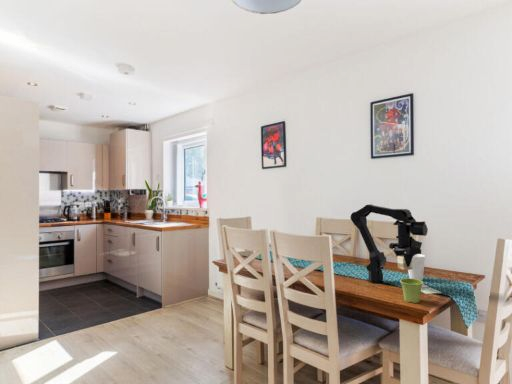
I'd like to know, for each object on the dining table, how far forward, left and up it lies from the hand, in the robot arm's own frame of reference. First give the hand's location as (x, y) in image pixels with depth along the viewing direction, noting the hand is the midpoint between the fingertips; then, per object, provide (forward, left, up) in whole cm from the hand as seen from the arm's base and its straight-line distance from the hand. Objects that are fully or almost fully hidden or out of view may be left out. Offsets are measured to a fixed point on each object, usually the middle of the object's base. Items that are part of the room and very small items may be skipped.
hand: (405, 265), depth 165 cm
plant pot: (-9, -19, -11) cm, 24 cm away
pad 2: (+7, -8, -11) cm, 15 cm away
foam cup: (+14, +12, -11) cm, 22 cm away
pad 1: (+7, +1, -11) cm, 13 cm away
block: (0, 0, -2) cm, 2 cm away
